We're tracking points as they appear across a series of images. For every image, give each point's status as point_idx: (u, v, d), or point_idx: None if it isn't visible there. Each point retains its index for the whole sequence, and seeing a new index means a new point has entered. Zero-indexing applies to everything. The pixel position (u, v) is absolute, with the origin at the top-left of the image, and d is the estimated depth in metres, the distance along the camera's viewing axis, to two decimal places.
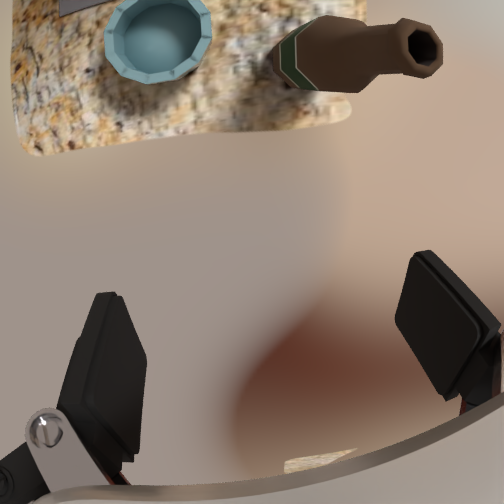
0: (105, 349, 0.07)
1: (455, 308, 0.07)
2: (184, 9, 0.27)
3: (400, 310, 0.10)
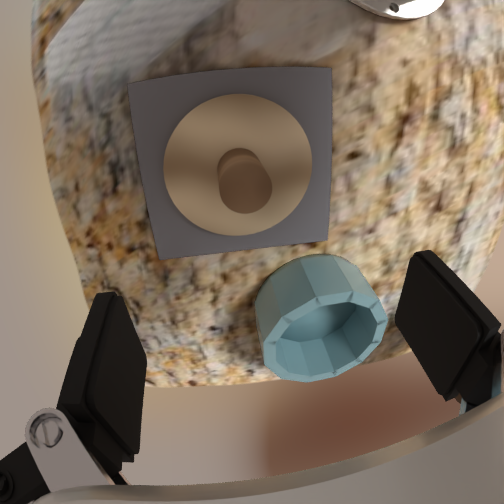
0: (105, 349, 0.07)
1: (455, 308, 0.07)
2: None
3: (400, 310, 0.10)
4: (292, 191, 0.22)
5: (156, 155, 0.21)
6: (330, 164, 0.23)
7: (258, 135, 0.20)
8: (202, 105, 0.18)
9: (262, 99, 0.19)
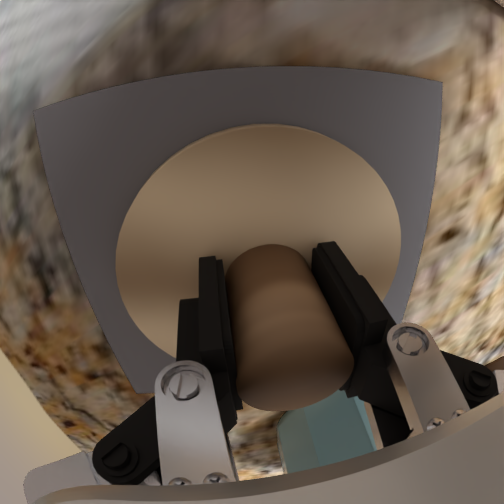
0: (227, 302, 0.08)
1: (341, 300, 0.08)
2: None
3: None
4: None
5: (103, 253, 0.10)
6: (418, 255, 0.12)
7: (309, 217, 0.10)
8: (186, 154, 0.08)
9: (322, 139, 0.09)
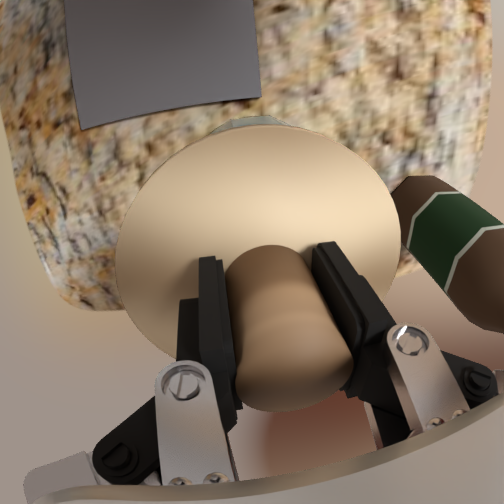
0: (227, 302, 0.08)
1: (341, 300, 0.08)
2: None
3: None
4: None
5: (81, 24, 0.16)
6: (252, 14, 0.17)
7: (309, 218, 0.10)
8: (186, 154, 0.08)
9: (322, 140, 0.09)
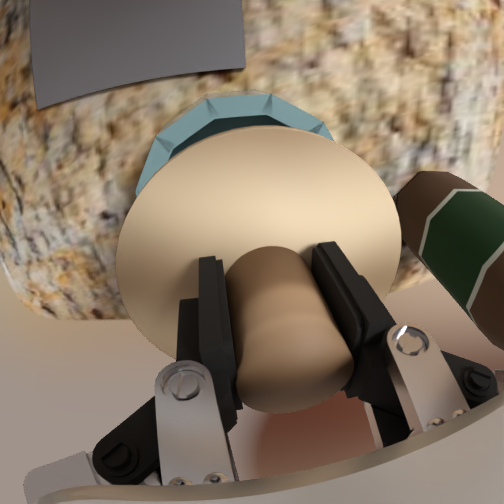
0: (227, 302, 0.08)
1: (340, 299, 0.08)
2: (279, 123, 0.18)
3: None
4: None
5: None
6: None
7: (309, 219, 0.10)
8: (186, 156, 0.08)
9: (323, 141, 0.09)
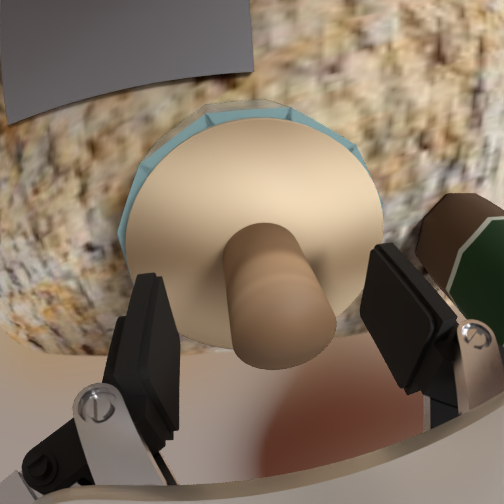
0: (153, 324, 0.07)
1: (409, 300, 0.08)
2: None
3: (364, 303, 0.11)
4: (346, 285, 0.14)
5: None
6: None
7: (297, 198, 0.11)
8: (190, 142, 0.10)
9: (308, 130, 0.10)
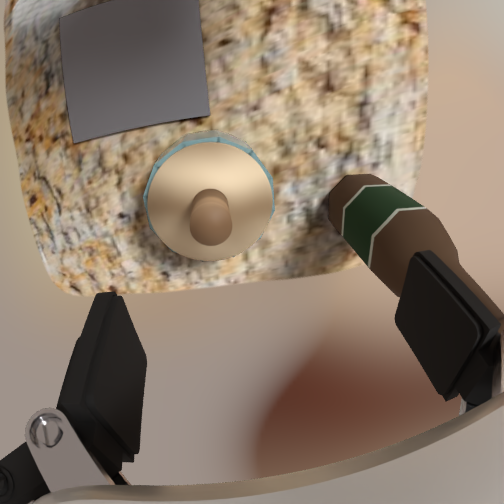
0: (105, 349, 0.07)
1: (455, 308, 0.07)
2: None
3: (400, 310, 0.10)
4: (257, 222, 0.27)
5: (74, 60, 0.22)
6: (202, 49, 0.24)
7: (223, 176, 0.24)
8: (175, 154, 0.23)
9: (225, 146, 0.23)
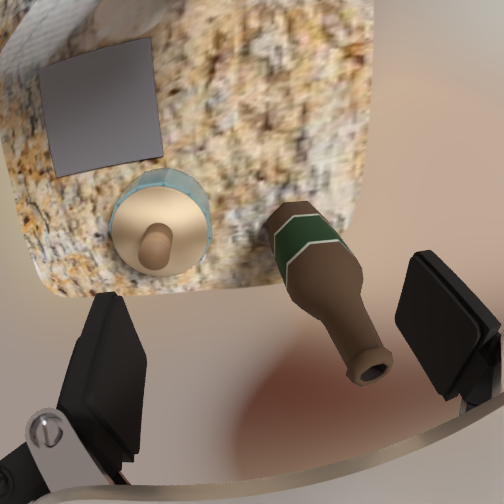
0: (105, 349, 0.07)
1: (455, 308, 0.07)
2: None
3: (400, 310, 0.10)
4: (196, 248, 0.33)
5: (52, 108, 0.28)
6: (155, 99, 0.30)
7: (168, 213, 0.31)
8: (130, 197, 0.29)
9: (167, 190, 0.29)
